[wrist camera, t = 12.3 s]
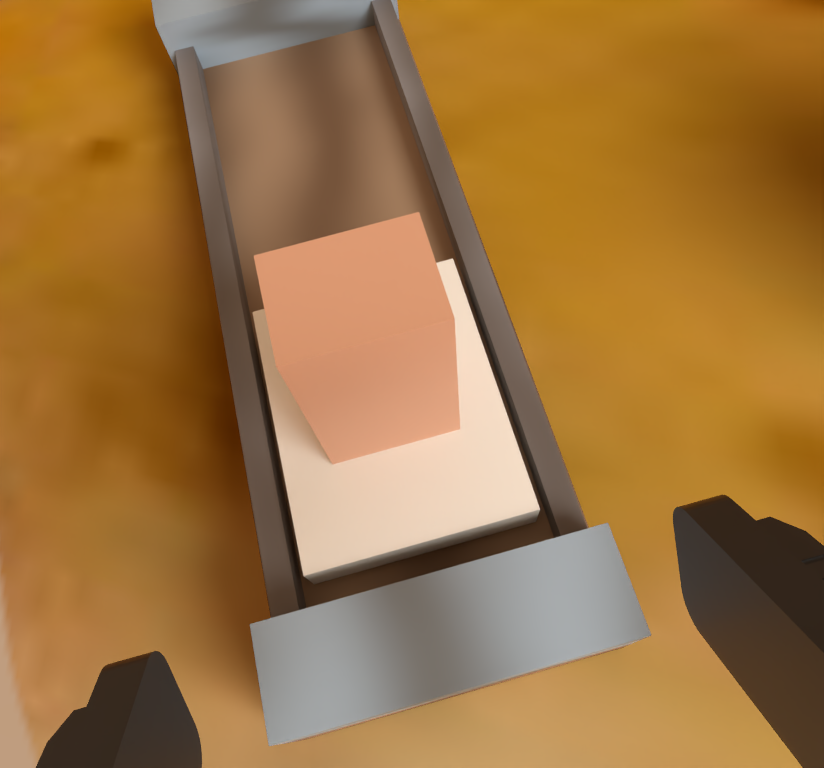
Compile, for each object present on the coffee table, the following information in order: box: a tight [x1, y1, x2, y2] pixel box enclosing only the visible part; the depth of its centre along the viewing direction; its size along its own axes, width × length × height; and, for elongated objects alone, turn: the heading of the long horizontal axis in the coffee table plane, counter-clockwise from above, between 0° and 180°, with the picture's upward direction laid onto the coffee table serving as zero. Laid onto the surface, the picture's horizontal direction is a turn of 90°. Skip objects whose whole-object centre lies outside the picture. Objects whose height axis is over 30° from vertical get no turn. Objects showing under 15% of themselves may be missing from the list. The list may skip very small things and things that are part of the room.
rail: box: [152, 0, 651, 746], centre depth 26 cm, size 10×30×4 cm, turn 15°
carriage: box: [252, 212, 540, 584], centre depth 20 cm, size 7×9×8 cm
